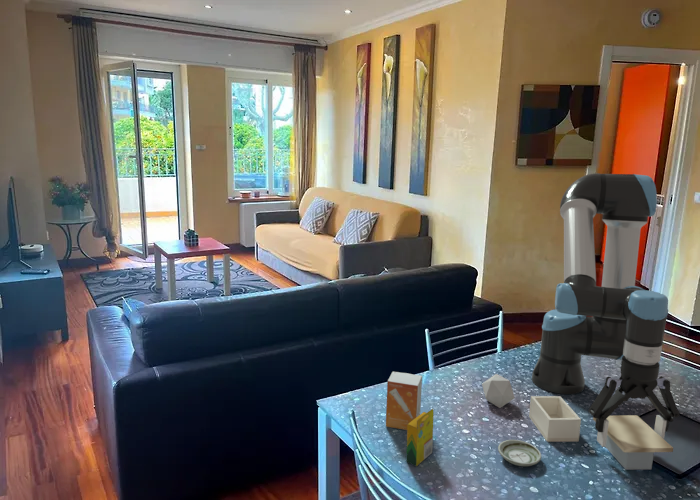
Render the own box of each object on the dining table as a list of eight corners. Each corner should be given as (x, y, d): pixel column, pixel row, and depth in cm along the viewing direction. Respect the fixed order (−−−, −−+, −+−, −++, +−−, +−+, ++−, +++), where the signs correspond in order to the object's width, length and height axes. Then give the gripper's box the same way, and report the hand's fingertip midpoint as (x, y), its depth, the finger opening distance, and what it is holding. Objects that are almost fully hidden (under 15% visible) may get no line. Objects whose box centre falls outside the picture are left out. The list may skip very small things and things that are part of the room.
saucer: (516, 477, 115) (517, 467, 115) (488, 453, 124) (489, 444, 123) (549, 466, 119) (550, 457, 118) (520, 444, 128) (521, 435, 127)
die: (519, 409, 146) (515, 374, 150) (508, 404, 140) (504, 369, 144) (492, 411, 150) (488, 377, 154) (479, 407, 144) (476, 372, 148)
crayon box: (422, 448, 125) (424, 403, 123) (432, 452, 124) (435, 408, 121) (405, 462, 120) (407, 416, 117) (416, 467, 118) (418, 420, 116)
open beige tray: (547, 441, 129) (549, 419, 128) (529, 416, 140) (530, 396, 139) (578, 441, 129) (581, 419, 128) (558, 416, 141) (560, 396, 140)
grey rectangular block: (625, 469, 118) (628, 445, 117) (605, 446, 127) (608, 424, 126) (651, 469, 118) (654, 445, 117) (629, 446, 127) (632, 424, 126)
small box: (385, 427, 134) (386, 380, 132) (390, 415, 140) (392, 370, 138) (416, 432, 132) (418, 385, 129) (420, 420, 138) (422, 375, 135)
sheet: (624, 452, 114) (624, 448, 114) (592, 419, 128) (593, 415, 128) (672, 452, 115) (673, 447, 114) (636, 419, 128) (636, 415, 128)
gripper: (595, 366, 113) (585, 453, 118) (706, 365, 114) (692, 452, 119) (579, 352, 121) (570, 434, 125) (683, 352, 122) (671, 434, 126)
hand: (629, 443), depth 122 cm, fingers open, 13 cm apart
